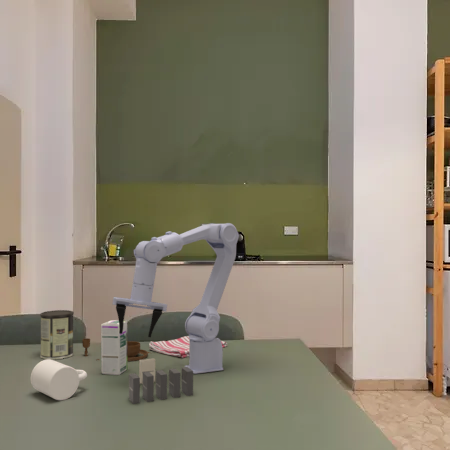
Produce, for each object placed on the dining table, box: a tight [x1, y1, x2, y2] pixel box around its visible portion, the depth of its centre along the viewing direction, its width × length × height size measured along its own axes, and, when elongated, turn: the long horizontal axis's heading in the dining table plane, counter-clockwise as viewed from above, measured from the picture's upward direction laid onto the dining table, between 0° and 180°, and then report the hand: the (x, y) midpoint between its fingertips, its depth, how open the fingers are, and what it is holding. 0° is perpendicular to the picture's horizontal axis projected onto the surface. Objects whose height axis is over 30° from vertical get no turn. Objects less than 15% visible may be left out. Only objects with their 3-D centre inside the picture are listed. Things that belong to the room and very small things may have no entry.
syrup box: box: [100, 319, 129, 376], centre depth 141 cm, size 6×6×14 cm
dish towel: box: [148, 335, 228, 359], centre depth 170 cm, size 17×23×4 cm
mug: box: [30, 359, 88, 401], centre depth 123 cm, size 12×10×8 cm
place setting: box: [82, 338, 151, 362], centre depth 160 cm, size 18×20×6 cm
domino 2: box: [138, 357, 156, 385], centre depth 132 cm, size 2×4×6 cm, turn 115°
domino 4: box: [155, 369, 168, 401], centre depth 120 cm, size 2×4×6 cm, turn 25°
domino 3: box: [141, 372, 155, 403], centre depth 119 cm, size 2×4×6 cm, turn 25°
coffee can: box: [40, 309, 74, 361], centre depth 159 cm, size 10×10×14 cm
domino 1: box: [128, 372, 141, 405], centre depth 117 cm, size 2×4×6 cm, turn 25°
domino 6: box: [180, 366, 194, 397], centre depth 123 cm, size 2×4×6 cm, turn 25°
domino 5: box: [168, 368, 181, 399], centre depth 122 cm, size 2×4×6 cm, turn 25°
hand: (135, 335), depth 131 cm, fingers open, 7 cm apart
